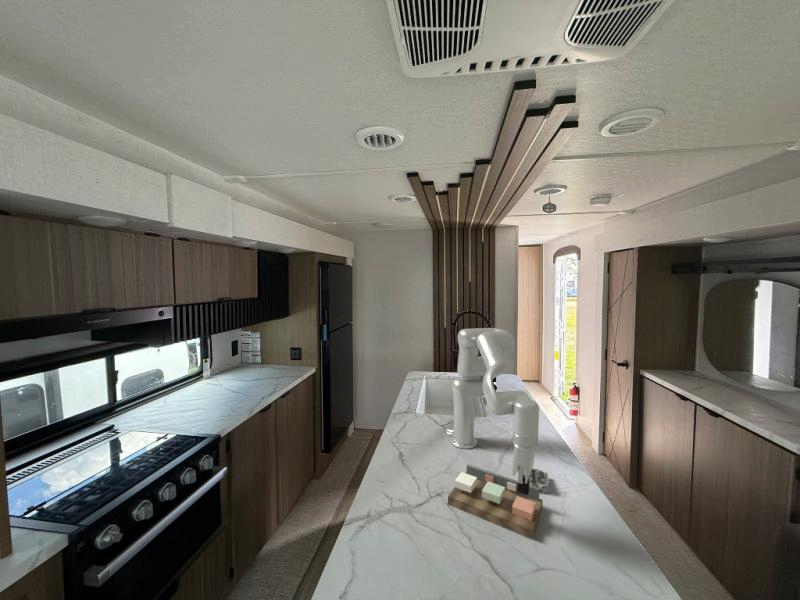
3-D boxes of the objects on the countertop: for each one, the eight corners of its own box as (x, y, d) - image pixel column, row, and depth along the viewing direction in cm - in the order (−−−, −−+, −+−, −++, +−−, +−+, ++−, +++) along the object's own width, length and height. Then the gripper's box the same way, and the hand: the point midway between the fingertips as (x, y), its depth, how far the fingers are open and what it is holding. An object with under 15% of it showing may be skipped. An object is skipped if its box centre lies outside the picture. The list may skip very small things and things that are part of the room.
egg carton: (548, 496, 118) (549, 485, 118) (526, 490, 121) (527, 480, 121) (548, 479, 128) (549, 469, 127) (528, 474, 131) (528, 464, 130)
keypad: (447, 504, 114) (447, 485, 113) (465, 480, 127) (465, 463, 126) (532, 539, 98) (532, 517, 98) (542, 508, 111) (542, 488, 111)
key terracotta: (512, 513, 105) (512, 506, 105) (516, 502, 110) (516, 495, 110) (531, 521, 101) (531, 513, 101) (535, 509, 106) (535, 502, 106)
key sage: (481, 497, 110) (482, 490, 110) (487, 487, 115) (487, 481, 115) (499, 504, 107) (499, 497, 107) (504, 493, 112) (505, 487, 112)
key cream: (454, 486, 116) (454, 480, 116) (461, 478, 121) (461, 472, 121) (470, 493, 112) (470, 486, 112) (476, 483, 117) (477, 477, 117)
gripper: (518, 426, 112) (517, 476, 114) (506, 445, 100) (505, 501, 102) (542, 431, 108) (540, 483, 110) (532, 453, 96) (530, 511, 97)
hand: (523, 492), depth 106 cm, fingers closed
